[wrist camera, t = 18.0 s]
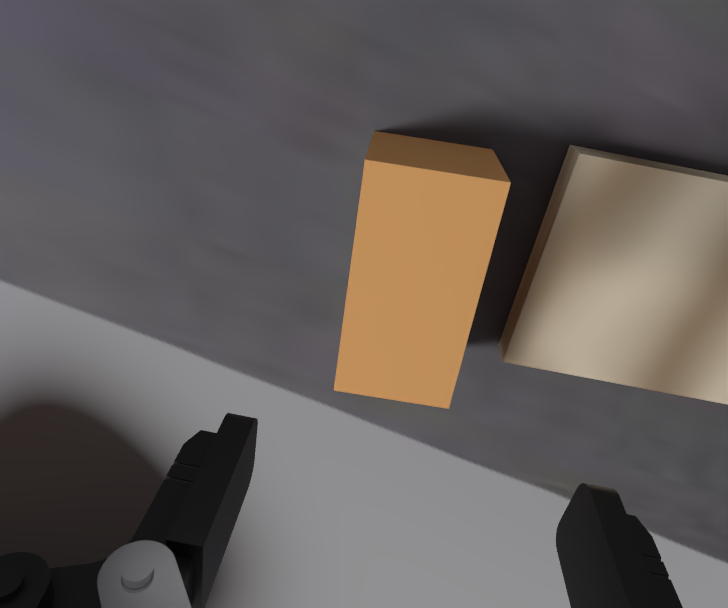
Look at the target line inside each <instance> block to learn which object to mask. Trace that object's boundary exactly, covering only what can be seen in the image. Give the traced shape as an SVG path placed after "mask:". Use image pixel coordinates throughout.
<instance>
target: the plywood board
mask: <svg viewBox="0 0 728 608" xmlns="http://www.w3.org/2000/svg"><path fill="white" fill-rule="evenodd" d="M498 345H499V349H500V353H501V357H502V361H503V362H507V363H512V364H517V365H523V366H528V367H533V368H538V369H544V370H549V371H554V372H559V373H565V374H570V375H575V376H581V377H586V378H591V379H596V380H602V381H607V382H612V383H618V384H623V385H628V386H633V387H639V388H644V389H649V390H654V391H660V392H665V393H670V394H676V395H681V396H686V397H691V398H697V399H702V400H707V401H712V402H718V403H723V404H728V176H727V175H722V174H717V173H712V172H707V171H702V170H696V169H691V168H686V167H681V166H676V165H671V164H666V163H661V162H655V161H650V160H645V159H640V158H635V157H630V156H625V155H620V154H615V153H609V152H604V151H599V150H594V149H589V148H584V147H579V146H574V145H569V148H568V151H567V154H566V157H565V159H564V162H563V165H562V168H561V171H560V173H559V176H558V179H557V182H556V185H555V187H554V190H553V193H552V196H551V199H550V201H549V204H548V207H547V210H546V213H545V215H544V218H543V221H542V224H541V227H540V229H539V232H538V235H537V238H536V241H535V243H534V246H533V249H532V252H531V255H530V257H529V260H528V263H527V266H526V269H525V272H524V274H523V277H522V280H521V283H520V286H519V288H518V291H517V294H516V297H515V300H514V302H513V305H512V308H511V311H510V314H509V316H508V319H507V322H506V325H505V328H504V330H503V333H502V336H501V339H500V342H499V344H498Z"/></svg>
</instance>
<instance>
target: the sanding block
mask: <svg viewBox="0 0 728 608" xmlns="http://www.w3.org/2000/svg"><path fill="white" fill-rule="evenodd" d="M510 184H511V182H510V180H509V178H508V176H507V174H506V173H505V171H504V169H503V167H502V165H501V163H500V162H499V160H498V158H497V156H496V154H495V153H494V151H493V149H487V148H481V147H474V146H468V145H461V144H455V143H449V142H442V141H436V140H429V139H423V138H417V137H410V136H404V135H398V134H391V133H385V132H378V131H374V133H373V137H372V140H371V143H370V146H369V149H368V152H367V155H366V158H365V164H364V171H363V179H362V186H361V193H360V201H359V208H358V215H357V223H356V230H355V237H354V245H353V252H352V260H351V267H350V274H349V282H348V289H347V296H346V304H345V311H344V319H343V326H342V333H341V341H340V348H339V355H338V363H337V370H336V378H335V385H334V390H335V391H341V392H347V393H354V394H360V395H366V396H372V397H379V398H385V399H391V400H397V401H404V402H410V403H416V404H422V405H429V406H435V407H441V408H447V409H449V405H450V402H451V398H452V394H453V391H454V387H455V384H456V380H457V376H458V373H459V369H460V365H461V362H462V358H463V355H464V351H465V347H466V344H467V340H468V336H469V333H470V329H471V326H472V322H473V318H474V315H475V311H476V307H477V304H478V300H479V297H480V293H481V289H482V286H483V282H484V279H485V275H486V271H487V268H488V264H489V260H490V257H491V253H492V250H493V246H494V242H495V239H496V235H497V231H498V228H499V224H500V221H501V217H502V213H503V210H504V206H505V202H506V199H507V195H508V192H509V188H510Z"/></svg>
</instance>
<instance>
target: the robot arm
mask: <svg viewBox="0 0 728 608" xmlns="http://www.w3.org/2000/svg"><path fill="white" fill-rule="evenodd" d="M257 424H258V421H257V419H256V418H251V417H246V416H241V415H236V414H231V413H227V414H226V416H225V417H224V420H223V422H222V424H221V426H220V428H219V430H218V432H217V433H213V432H207V431H202V430H201V431H199V432H198V433H197V434H195V435H194V436H193V437H192V438H191V439H189V440H188V441H187V442H186V443H185V444H184V445H183V446H182V448H181V450H180V452H179V454H178V455H177V458H176V459H175V461H174V464H173V465H172V466H171V469H170V470H169V472H168V474H167V476H166V479H165V480H164V481H163V483H162V485H161V487H160V489H159V491H158V492H157V494H156V496H155V498H154V500H153V501H152V503H151V505H150V507H149V509H148V510H147V512H146V514H145V516H144V518H143V520H142V521H141V523H140V525H139V527H138V529H137V531H136V532H135V534H134V536H133V537H132V539H131V540H130V541H129V542H128V543H127V544H126V545H124V546H123V547H121V548H119V549H117V550H116V551H115V552H114V553H112V554H111V555H110V556H109V557H108V558H106V559H103V560H101V561H97V562H94V563H89V564H83V565H74V566H66V567H57V568H49V566H48V565H47V563H46V562H45V560H44V559H43V558H41V557H40V556H38V555H36V554H33V553H28V552H17V553H10V554H6V555H3V556H0V608H205V605H206V603H207V600H208V597H209V594H210V592H211V589H212V586H213V584H214V581H215V578H216V575H217V573H218V570H219V567H220V564H221V562H222V559H223V556H224V553H225V551H226V548H227V545H228V542H229V539H230V537H231V534H232V531H233V529H234V526H235V523H236V520H237V517H238V515H239V512H240V509H241V506H242V503H243V501H244V498H245V495H246V493H247V490H248V487H249V484H250V480H251V476H252V472H253V467H254V459H255V448H256V437H257ZM556 547H557V552H558V556H559V560H560V564H561V569H562V573H563V577H564V580H565V585H566V589H567V593H568V597H569V601H570V605H571V608H683V607H682V605H681V603H680V600H679V598H678V596H677V593H676V591H675V589H674V586H673V584H672V582H671V580H669V579H668V576H669V575H668V573H667V571H666V568H665V566H664V563H663V562H661V556H660V554H659V552H658V549H657V547H656V545H655V542H654V540H653V538H652V536H651V535H650V533H649V532H648V531H647V530H646V528H645V527H644V526H643V525H642V524H641V522H640V521H639V520H638V519H637V517H636V516H633V515H628V514H626V511H625V509H624V506H623V504H622V501H621V499H620V496H619V494H618V493H617V491H616V490H614V489H610V488H605V487H600V486H595V485H590V484H584V483H582V484H580V485H579V486H578V488H577V490H576V491H575V493H574V495H573V497H572V499H571V501H570V503H569V505H568V507H567V508H566V511H565V512H564V514H563V516H562V518H561V520H560V522H559V524H558V527H557V533H556Z"/></svg>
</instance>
